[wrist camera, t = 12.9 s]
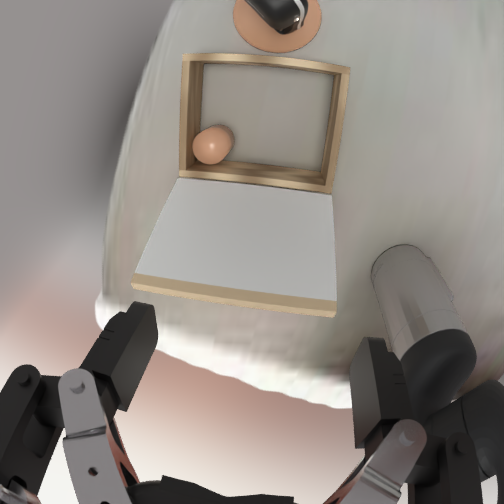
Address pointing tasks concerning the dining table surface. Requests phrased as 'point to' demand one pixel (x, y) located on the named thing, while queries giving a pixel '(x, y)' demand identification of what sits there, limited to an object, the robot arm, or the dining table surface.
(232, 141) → the peach rounded capsule
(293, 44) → the saucer
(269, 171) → the wooden box
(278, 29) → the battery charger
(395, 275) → the robot arm
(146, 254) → the lid
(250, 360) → the dining table surface
